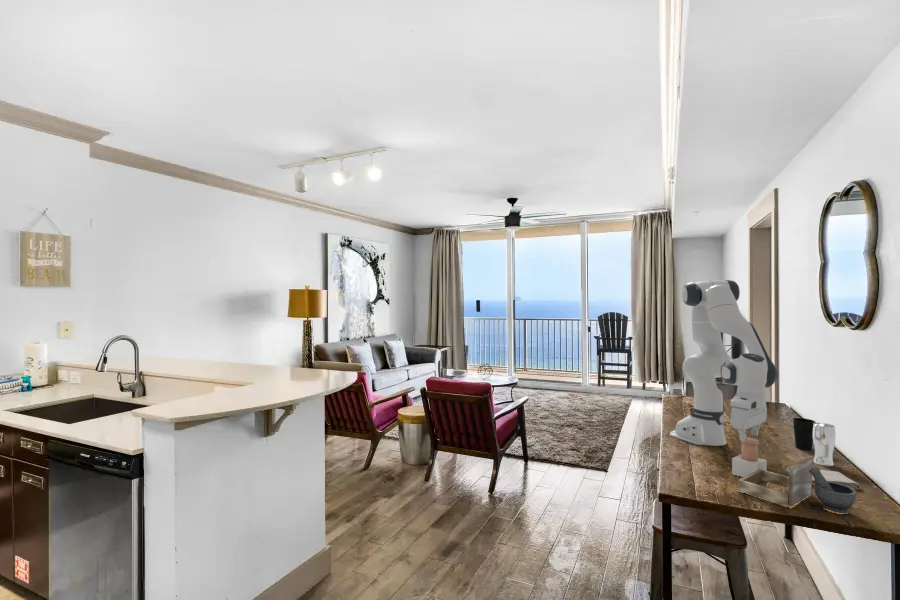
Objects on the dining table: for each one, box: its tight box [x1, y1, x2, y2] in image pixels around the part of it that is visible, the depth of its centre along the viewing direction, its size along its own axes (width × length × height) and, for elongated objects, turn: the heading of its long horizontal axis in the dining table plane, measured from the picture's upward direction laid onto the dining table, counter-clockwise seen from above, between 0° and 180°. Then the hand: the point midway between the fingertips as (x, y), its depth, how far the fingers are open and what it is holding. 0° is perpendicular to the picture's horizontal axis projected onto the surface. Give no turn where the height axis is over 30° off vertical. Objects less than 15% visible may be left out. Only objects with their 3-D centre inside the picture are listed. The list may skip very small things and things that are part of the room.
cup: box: [792, 417, 817, 452], centre depth 196 cm, size 8×8×12 cm
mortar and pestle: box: [809, 467, 858, 513], centre depth 140 cm, size 11×9×12 cm
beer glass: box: [812, 422, 837, 467], centre depth 179 cm, size 7×7×15 cm
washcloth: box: [785, 466, 861, 490], centre depth 162 cm, size 12×18×3 cm, turn 76°
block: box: [731, 454, 768, 478], centre depth 166 cm, size 8×8×6 cm
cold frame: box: [737, 455, 813, 506], centre depth 151 cm, size 15×17×13 cm
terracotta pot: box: [739, 436, 760, 462], centre depth 166 cm, size 6×6×7 cm
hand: (748, 437), depth 167 cm, fingers open, 8 cm apart
